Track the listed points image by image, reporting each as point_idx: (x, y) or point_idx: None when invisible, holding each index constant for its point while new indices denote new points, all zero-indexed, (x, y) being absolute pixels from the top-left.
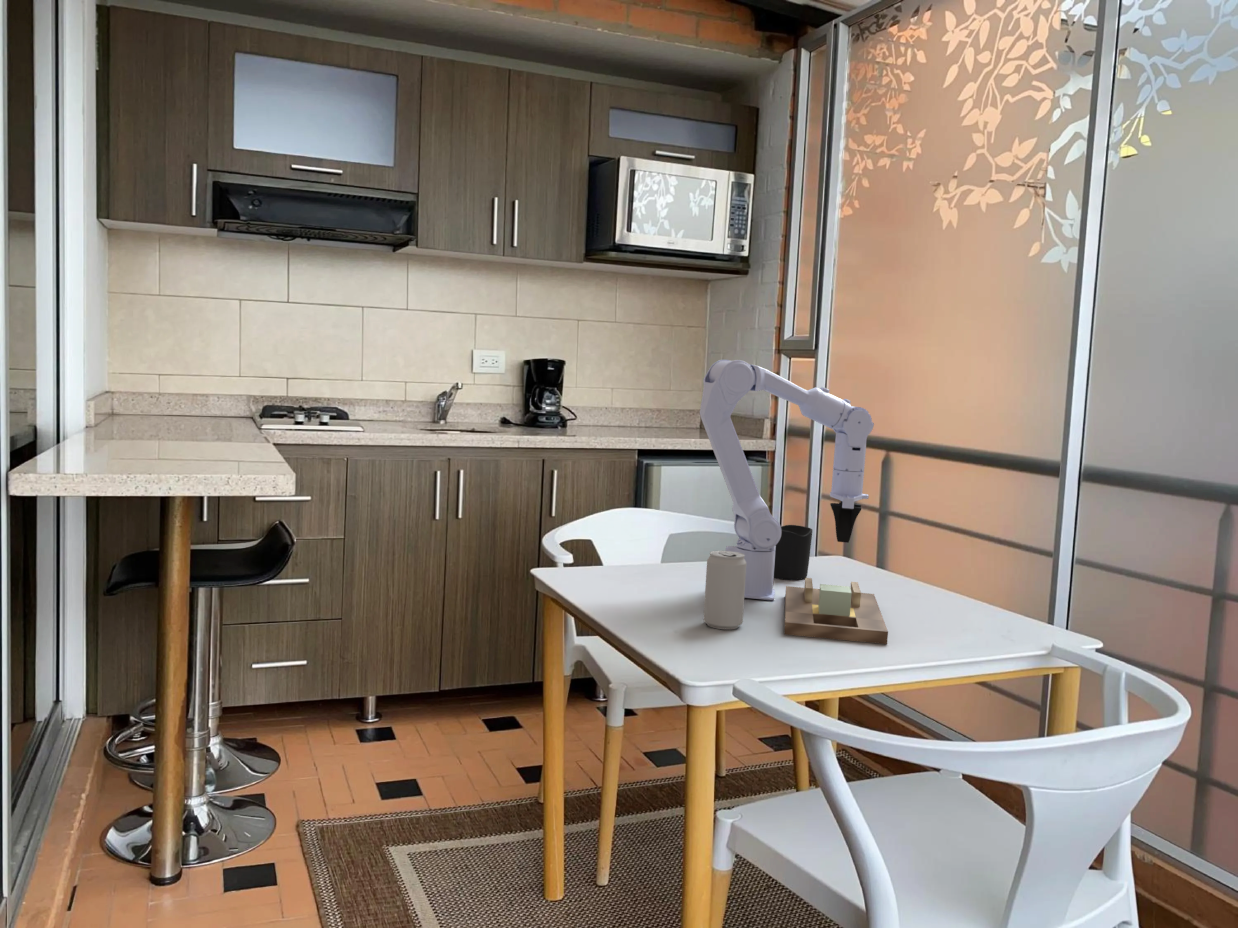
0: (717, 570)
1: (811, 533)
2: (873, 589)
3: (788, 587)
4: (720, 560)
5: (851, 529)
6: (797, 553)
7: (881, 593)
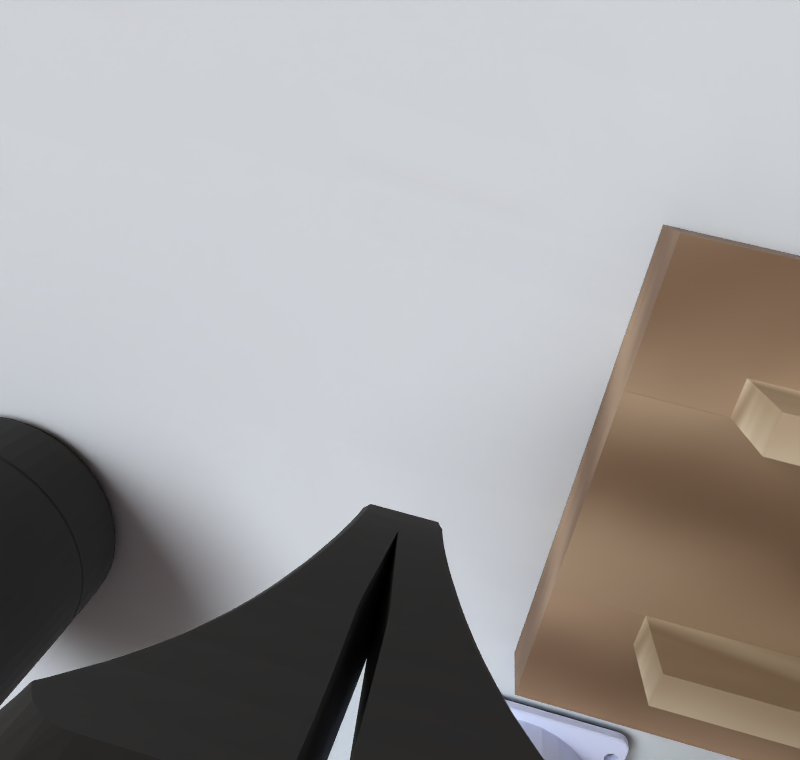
0: None
1: None
2: (209, 79)
3: (548, 692)
4: None
5: (463, 616)
6: (18, 588)
7: (318, 55)
